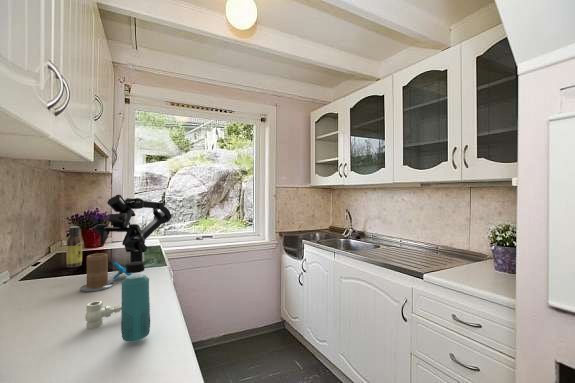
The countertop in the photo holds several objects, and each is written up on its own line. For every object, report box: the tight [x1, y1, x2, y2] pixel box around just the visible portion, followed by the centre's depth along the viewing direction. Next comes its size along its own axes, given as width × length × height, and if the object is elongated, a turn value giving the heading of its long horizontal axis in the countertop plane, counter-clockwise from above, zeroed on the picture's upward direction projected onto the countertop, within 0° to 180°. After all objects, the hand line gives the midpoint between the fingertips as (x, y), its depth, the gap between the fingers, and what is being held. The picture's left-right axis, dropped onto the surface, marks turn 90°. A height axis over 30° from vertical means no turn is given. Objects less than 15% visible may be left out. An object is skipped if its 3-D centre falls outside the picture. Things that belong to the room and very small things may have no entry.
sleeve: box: [86, 252, 109, 289], centre depth 110 cm, size 6×6×12 cm
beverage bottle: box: [120, 261, 151, 342], centre depth 71 cm, size 6×7×20 cm
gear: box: [112, 261, 133, 281], centre depth 120 cm, size 11×6×10 cm
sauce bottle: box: [65, 226, 83, 269], centre depth 140 cm, size 6×6×20 cm
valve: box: [84, 300, 122, 330], centre depth 81 cm, size 7×7×12 cm
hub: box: [79, 280, 115, 293], centre depth 110 cm, size 11×11×4 cm
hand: (112, 244), depth 126 cm, fingers open, 9 cm apart
